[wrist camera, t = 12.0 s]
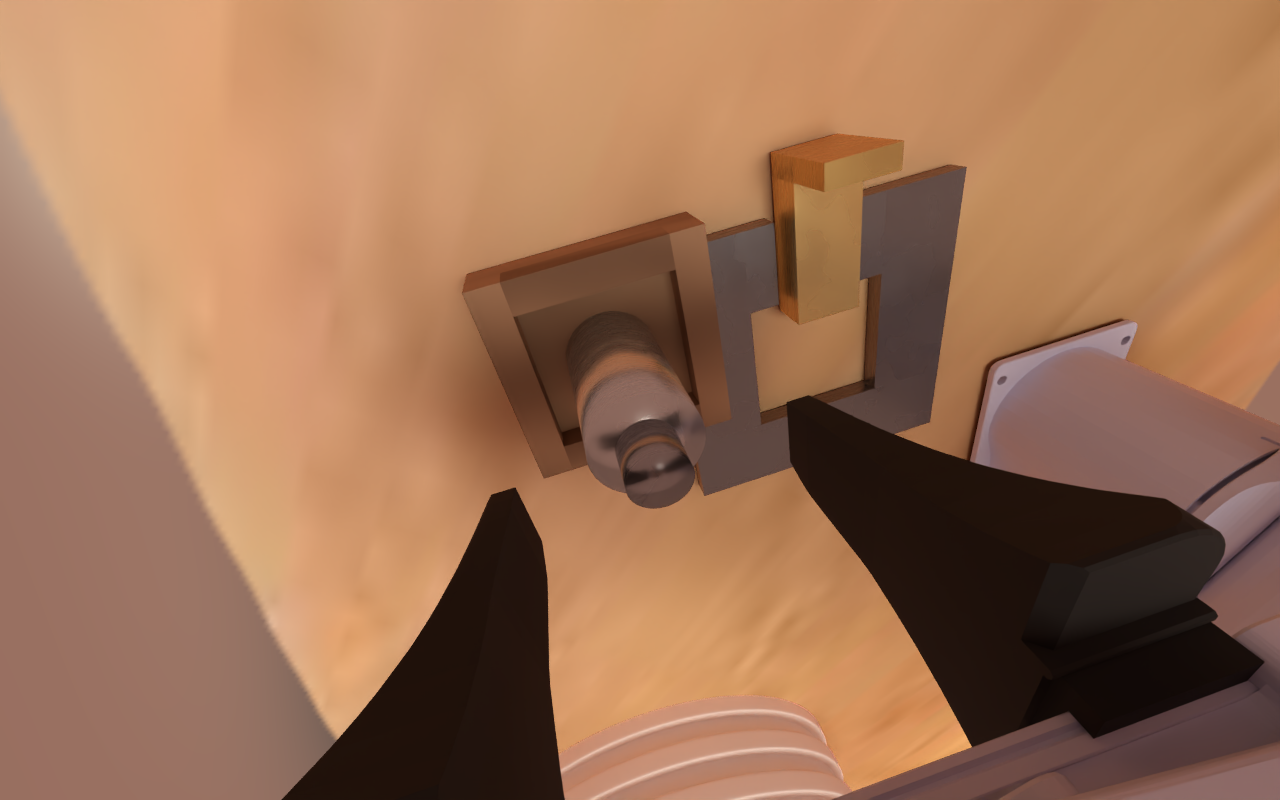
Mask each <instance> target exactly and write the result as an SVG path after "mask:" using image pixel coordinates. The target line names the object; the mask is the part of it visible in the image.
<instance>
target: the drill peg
mask: <svg viewBox="0 0 1280 800" xmlns="http://www.w3.org/2000/svg"><path fill="white" fill-rule="evenodd" d="M566 359H567V364H568V369H569V374H570V379H571V384H572V389H573V394H574V399H575V404H576V409H577V414H578V419H579V424H580V429H581V434H582V439H583V444H584V449H585V454H586V459H587V463H588V466H589V468H590V470H591V472H592V473H593V475H594V476H595V477H596V478H597V479H598V480H599V481H600V482H601V483H602V484H604V485H605V486H607V487H609V488H611V489H613V490H616V491H619V492H623V493H627V495H628V497H629V498H630V500H631V501H632V502H634V503H635V504H637V505H639V506H641V507H645V508H662V507H666V506H669V505H671V504H674V503H676V502H677V501H679V500H680V499H682V498H683V497H684V496H685V495H686V494H687V493H688V492H689V490H690V489H691V487H692V485H693V483H694V479H695V471H694V466H695V464H696V463H697V462H698V460H699V458H700V456H701V454H702V452H703V449H704V446H705V440H706V431H705V425H704V422H703V419H702V417H701V416H700V414H699V412H698V410H697V409H696V407H695V405H694V404H693V402H692V400H691V399H690V397H689V395H688V394H687V392H686V390H685V388H684V387H683V385H682V383H681V382H680V380H679V378H678V377H677V375H676V373H675V372H674V370H673V368H672V367H671V365H670V363H669V362H668V360H667V358H666V356H665V355H664V353H663V351H662V350H661V348H660V346H659V345H658V343H657V341H656V340H655V338H654V336H653V335H652V333H651V331H650V329H649V328H648V327H647V325H646V324H645V323H644V322H643V321H641V320H640V319H639V318H637V317H635V316H634V315H631V314H629V313H625V312H620V311H608V312H602V313H599V314H596V315H594V316H591V317H590V318H588V319H586V320H585V321H584V322H582V323H581V324H580V325H579V326H578V327H577V328H576V330H575V331H574V332H573V334H572V336H571V337H570V340H569V342H568V346H567V352H566Z"/></svg>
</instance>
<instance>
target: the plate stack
mask: <svg viewBox="0 0 1280 800" xmlns="http://www.w3.org/2000/svg"><path fill="white" fill-rule="evenodd" d="M559 762H560V770H561V777H562V784H563V791H564V798H565V800H832V799H834V798H837V797H840V796H842V795H845V794H848V793H850V792H852V791H851V789H850V787H849V786H848V785H847V784H846V783H845V782H844V781H843V774H842V770H841V768H840V766H839V764H838V762H837V760H836V758H835V756H834V754H833V752H832V751H831V749H830V748H829V747H828V746H827V743H826V739H825V736H824V734H823V732H822V729H821V727H820V725H819V723H818V722H817V720H816V718H815V717H814V716H813V715H812V713H810V712H809V711H808V710H807V709H805V708H804V707H802V706H800V705H798V704H796V703H794V702H791V701H788V700H784V699H780V698H775V697H768V696H757V695H735V696H721V697H712V698H706V699H699V700H694V701H689V702H684V703H680V704H675V705H671V706H667V707H664V708H660V709H657V710H654V711H650V712H647V713H644V714H641V715H638V716H636V717H633V718H630V719H627V720H625V721H622V722H620V723H617V724H615V725H613V726H610V727H608V728H606V729H604V730H602V731H599V732H597V733H595V734H593V735H591V736H589V737H587V738H585V739H584V740H582V741H580V742H578V743H576V744H575V745H573V746H571V747H570V748H568V749H566V750H565V751H563V752H562V753H560V754H559Z"/></svg>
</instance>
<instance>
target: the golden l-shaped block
mask: <svg viewBox="0 0 1280 800" xmlns="http://www.w3.org/2000/svg"><path fill="white" fill-rule="evenodd" d="M903 150H904V141H903V140H893V139H884V138H874V137H865V136H855V135H845V134H835V135H831V136H827V137H824V138H820V139H817V140H813V141H809V142H806V143H802V144H799V145H795V146H792V147H788V148H784V149H781V150H777V151H774V152H771V167H772V184H773V200H774V217H775V234H776V251H777V267H778V284H779V301H780V310H781V311H782V312H783V313H785V314H786V315H787V316H788V317H790V318H791V319H792V320H793V321H795V322H796V323H797V324H799V325H800V324H803V323H806V322H810V321H813V320H816V319H819V318H823V317H826V316H829V315H833V314H836V313H839V312H842V311H846V310H849V309H852V308H855V307H859V284H860V257H861V230H862V203H863V181H865V180H869V179H872V178H876V177H879V176H883V175H886V174H890V173H893V172H897V171H900V170H902V163H903Z"/></svg>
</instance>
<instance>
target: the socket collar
mask: <svg viewBox="0 0 1280 800" xmlns="http://www.w3.org/2000/svg"><path fill="white" fill-rule="evenodd" d="M966 168H967V167H963V166H956V165H947V166H944V167H940V168H937V169H934V170H930V171H927V172H923V173H920V174H916V175H913V176H909V177H906V178H902V179H899V180H895V181H892V182H888V183H885V184H882V185H878V186H875V187H871V188H868V189H864V190H863V203H862V230H861V257H860V280H862V279H865V278H869V290H868V311H867V331H866V352H865V373H864V381H860V382H857V383H854V384H851V385H848V386H845V387H842V388H838V389H835V390H832V391H829V392H826V393H823V394H820V395H816V396H813V397H814V398H816V399H818V400H820V401H822V402H825V403H827V404H829V405H831V406H833V407H835V408H837V409H839V410H841V411H843V412H846V413H848V414H850V415H852V416H854V417H856V418H858V419H860V420H863V421H865V422H867V423H869V424H871V425H874V426H876V427H878V428H880V429H883V430H885V431H887V432H890V433H892V434H895V433H898V432H901V431H904V430H907V429H910V428H913V427H916V426H919V425H922V424H926V423H929V422H930V417H931V410H932V403H933V396H934V389H935V382H936V376H937V369H938V362H939V355H940V348H941V341H942V334H943V327H944V320H945V313H946V306H947V299H948V292H949V285H950V279H951V272H952V265H953V258H954V251H955V244H956V237H957V230H958V223H959V216H960V209H961V202H962V195H963V188H964V182H965V175H966ZM706 237H707V244H708V251H709V258H710V266H711V273H712V280H713V287H714V295H715V302H716V309H717V316H718V324H719V331H720V338H721V346H722V353H723V360H724V367H725V375H726V382H727V389H728V396H729V404H730V411H731V418H732V419H730V420H727V421H724V422H721V423H718V424H714V425H711V426H708V427H705V431H706V440H705V446H704V449H703V452H702V454H701V456H700V458H699V460H698V462H697V463H696V464H695V466H696V471H697V476H698V481H699V485H700V488H701V490H702V492H703V494H704V496H706V495H709V494H712V493H715V492H718V491H721V490H724V489H727V488H730V487H733V486H736V485H739V484H742V483H745V482H748V481H751V480H754V479H758V478H761V477H764V476H767V475H770V474H773V473H776V472H779V471H782V470H785V469H788V468H791V467H793V466H792V464H791V462H790V452H789V435H788V418H787V405H785V406H782V407H779V408H775V409H772V410H769V411H766V412H763V413H760V407H759V397H758V386H757V376H756V366H755V355H754V345H753V335H752V324H751V314H750V313H753V312H756V311H760V310H763V309H766V308H769V307H773V306H776V305H779V296H778V280H777V263H776V247H775V230H774V223H773V222H771V221H769V220H767V219H765V218H764V219H760V220H757V221H753V222H750V223H746V224H743V225H740V226H736V227H733V228H729V229H726V230H722V231H719V232H715V233H712V234H708V235H706Z"/></svg>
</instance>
